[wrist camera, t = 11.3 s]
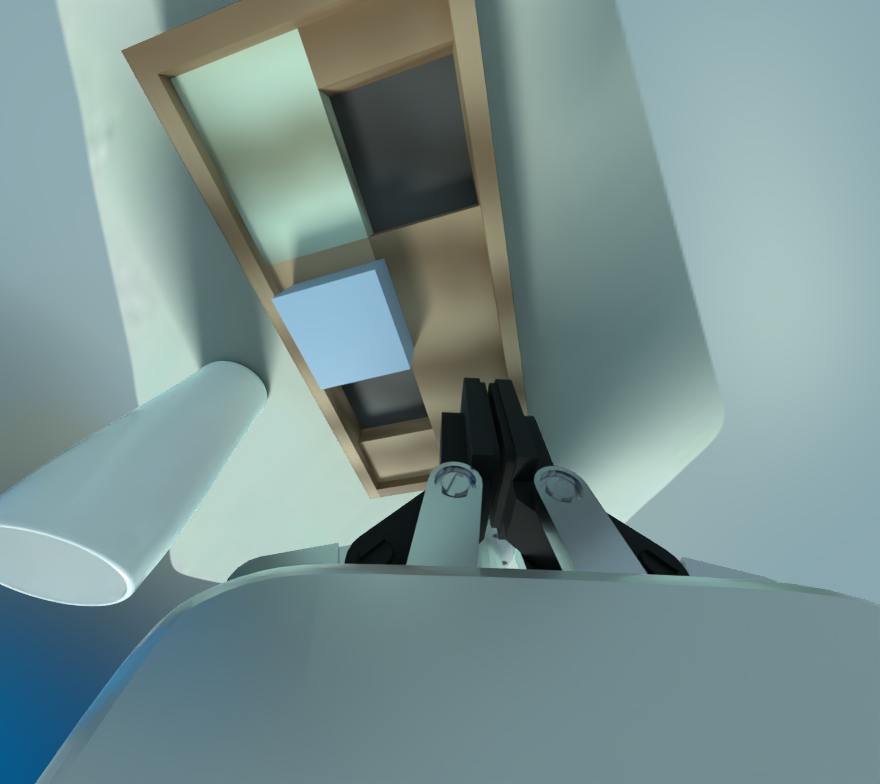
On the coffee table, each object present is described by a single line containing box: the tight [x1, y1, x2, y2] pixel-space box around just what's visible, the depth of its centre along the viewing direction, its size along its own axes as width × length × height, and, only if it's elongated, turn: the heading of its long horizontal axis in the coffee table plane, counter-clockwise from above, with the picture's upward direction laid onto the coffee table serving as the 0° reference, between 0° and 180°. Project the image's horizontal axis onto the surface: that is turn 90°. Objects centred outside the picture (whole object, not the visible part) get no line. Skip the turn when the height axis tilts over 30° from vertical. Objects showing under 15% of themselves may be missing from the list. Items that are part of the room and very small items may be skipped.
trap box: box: [122, 0, 528, 499], centre depth 22 cm, size 30×15×3 cm, turn 14°
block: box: [271, 258, 414, 390], centre depth 20 cm, size 6×6×3 cm
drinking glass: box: [0, 361, 267, 606], centre depth 20 cm, size 7×7×15 cm
